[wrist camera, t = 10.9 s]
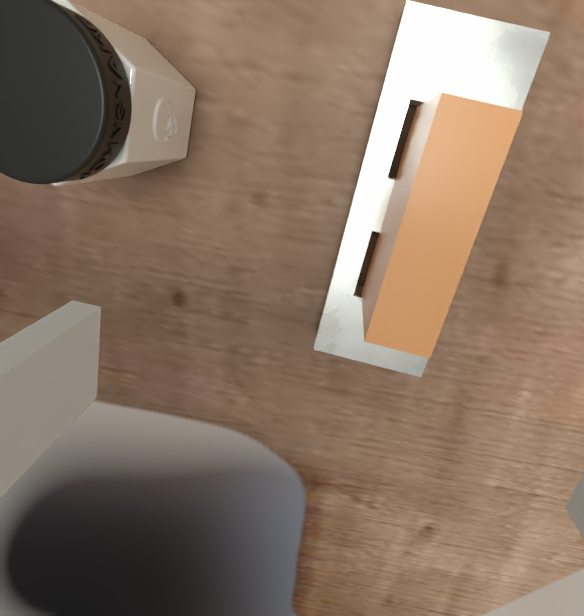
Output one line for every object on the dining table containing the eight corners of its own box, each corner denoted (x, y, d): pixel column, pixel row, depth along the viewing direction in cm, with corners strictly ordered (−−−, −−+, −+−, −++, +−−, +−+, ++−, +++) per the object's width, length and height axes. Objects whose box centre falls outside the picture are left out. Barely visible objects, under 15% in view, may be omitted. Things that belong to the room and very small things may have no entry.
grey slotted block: (316, 333, 36) (313, 349, 33) (401, 14, 28) (406, 0, 25) (415, 358, 35) (421, 377, 32) (530, 44, 27) (550, 32, 25)
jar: (185, 189, 33) (99, 212, 22) (79, 161, 33) (-59, 170, 22) (205, 54, 30) (116, -1, 19) (88, 25, 30) (-68, -47, 19)
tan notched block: (360, 281, 34) (364, 341, 23) (410, 110, 29) (441, 92, 19) (406, 293, 34) (430, 358, 23) (463, 123, 29) (523, 111, 19)
